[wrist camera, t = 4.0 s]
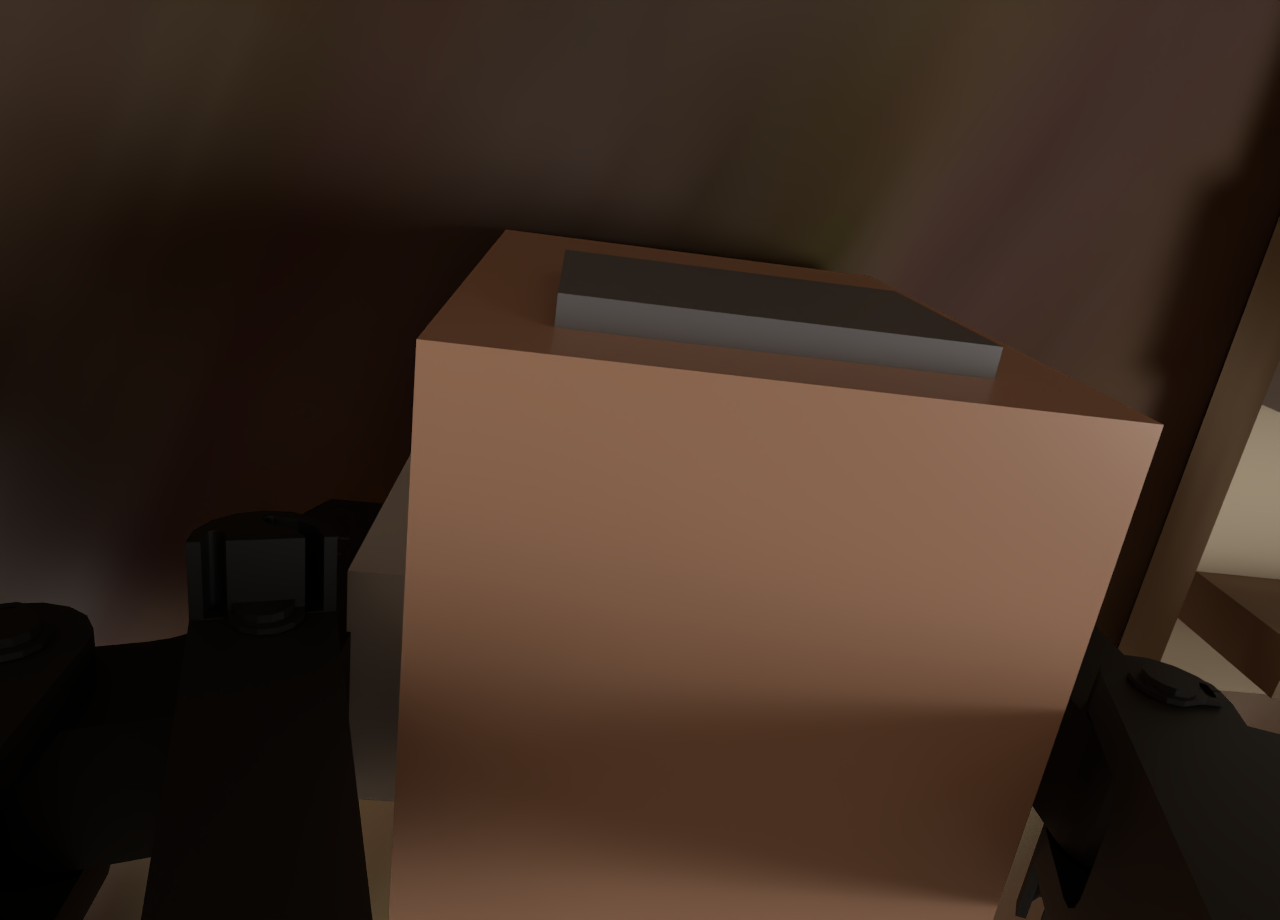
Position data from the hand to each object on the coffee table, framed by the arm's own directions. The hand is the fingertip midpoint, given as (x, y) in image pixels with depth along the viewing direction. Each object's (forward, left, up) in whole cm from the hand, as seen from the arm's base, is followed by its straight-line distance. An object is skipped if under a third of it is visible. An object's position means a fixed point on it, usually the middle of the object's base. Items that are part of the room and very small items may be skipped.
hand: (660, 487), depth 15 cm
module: (0, 0, 0) cm, 0 cm away
